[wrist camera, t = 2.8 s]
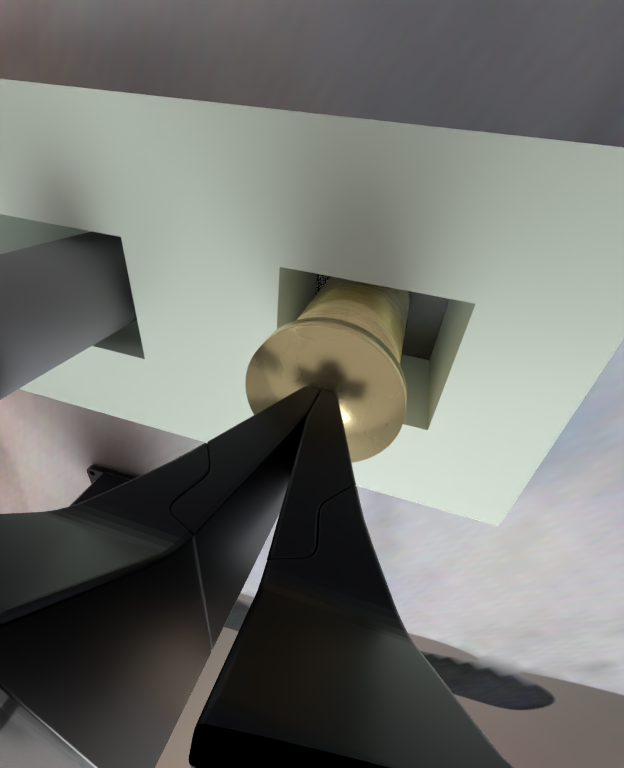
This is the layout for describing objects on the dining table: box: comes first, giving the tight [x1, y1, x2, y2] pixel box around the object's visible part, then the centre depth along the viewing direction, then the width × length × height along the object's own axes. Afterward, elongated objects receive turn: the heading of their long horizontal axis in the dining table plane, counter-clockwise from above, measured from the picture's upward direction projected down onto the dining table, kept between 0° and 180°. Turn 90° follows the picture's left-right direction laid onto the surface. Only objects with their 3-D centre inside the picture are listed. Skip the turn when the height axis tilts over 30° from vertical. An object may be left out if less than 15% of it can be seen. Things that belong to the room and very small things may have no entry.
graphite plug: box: [0, 231, 137, 399], centre depth 12 cm, size 4×4×8 cm
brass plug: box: [245, 276, 410, 463], centre depth 12 cm, size 4×4×8 cm
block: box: [0, 79, 624, 526], centre depth 14 cm, size 12×24×5 cm, turn 84°
